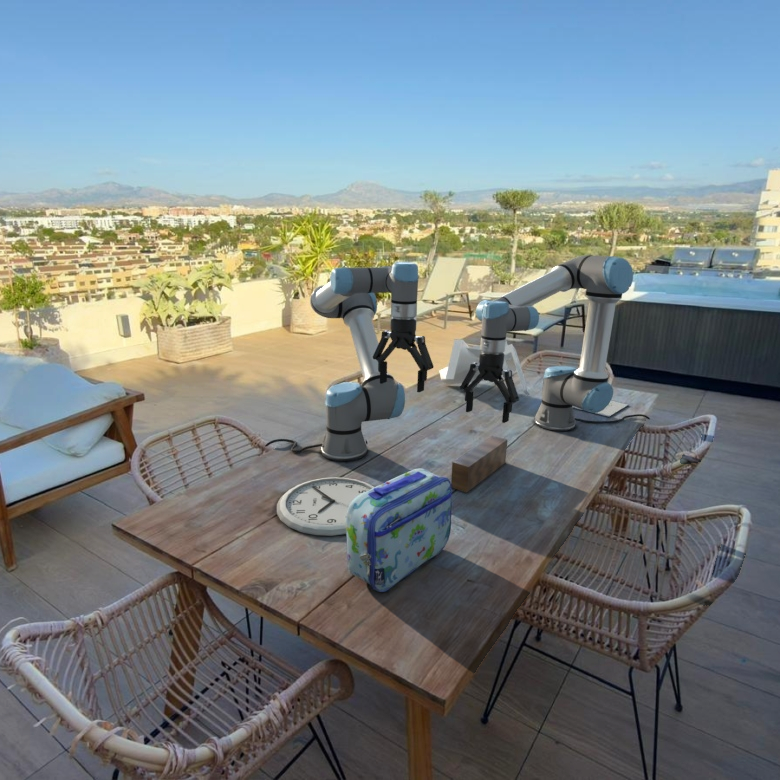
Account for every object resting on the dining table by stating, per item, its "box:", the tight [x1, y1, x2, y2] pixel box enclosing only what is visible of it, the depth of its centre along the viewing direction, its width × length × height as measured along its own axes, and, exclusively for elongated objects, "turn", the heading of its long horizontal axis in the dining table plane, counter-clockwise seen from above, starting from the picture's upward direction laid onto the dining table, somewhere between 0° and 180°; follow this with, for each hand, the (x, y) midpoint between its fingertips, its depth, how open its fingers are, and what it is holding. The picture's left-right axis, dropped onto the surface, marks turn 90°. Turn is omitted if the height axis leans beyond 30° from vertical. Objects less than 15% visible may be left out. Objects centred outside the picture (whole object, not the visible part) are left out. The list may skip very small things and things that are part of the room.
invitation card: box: [573, 400, 629, 418], centre depth 226 cm, size 21×1×15 cm
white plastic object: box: [438, 338, 531, 397], centre depth 245 cm, size 37×45×31 cm
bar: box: [450, 435, 508, 494], centre depth 161 cm, size 26×5×8 cm, turn 143°
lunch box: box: [345, 467, 453, 593], centre depth 115 cm, size 26×11×21 cm, turn 135°
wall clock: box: [276, 476, 376, 537], centre depth 142 cm, size 30×2×30 cm
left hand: (401, 386), depth 159 cm, fingers open, 13 cm apart
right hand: (486, 416), depth 168 cm, fingers open, 13 cm apart
